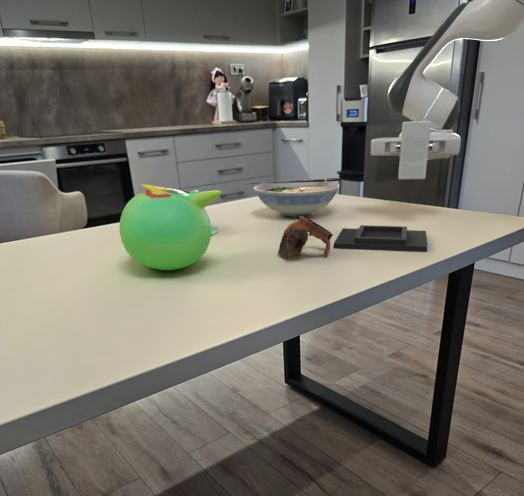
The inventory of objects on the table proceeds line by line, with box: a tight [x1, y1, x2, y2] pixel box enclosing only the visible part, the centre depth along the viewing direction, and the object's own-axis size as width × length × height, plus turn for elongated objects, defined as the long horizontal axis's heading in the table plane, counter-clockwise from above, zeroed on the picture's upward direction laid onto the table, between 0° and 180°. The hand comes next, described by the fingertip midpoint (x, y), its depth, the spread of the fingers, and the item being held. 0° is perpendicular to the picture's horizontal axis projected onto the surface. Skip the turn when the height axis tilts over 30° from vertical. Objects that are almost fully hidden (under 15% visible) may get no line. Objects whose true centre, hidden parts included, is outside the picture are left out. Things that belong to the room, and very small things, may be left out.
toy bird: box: [119, 183, 222, 271], centre depth 85 cm, size 18×17×15 cm
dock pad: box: [333, 224, 428, 253], centre depth 100 cm, size 18×14×2 cm
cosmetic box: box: [398, 121, 431, 180], centre depth 109 cm, size 6×4×12 cm
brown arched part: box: [277, 216, 334, 260], centre depth 91 cm, size 12×10×8 cm
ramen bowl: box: [249, 177, 342, 218], centre depth 128 cm, size 25×23×8 cm
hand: (414, 148), depth 108 cm, fingers closed on cosmetic box, 6 cm apart
